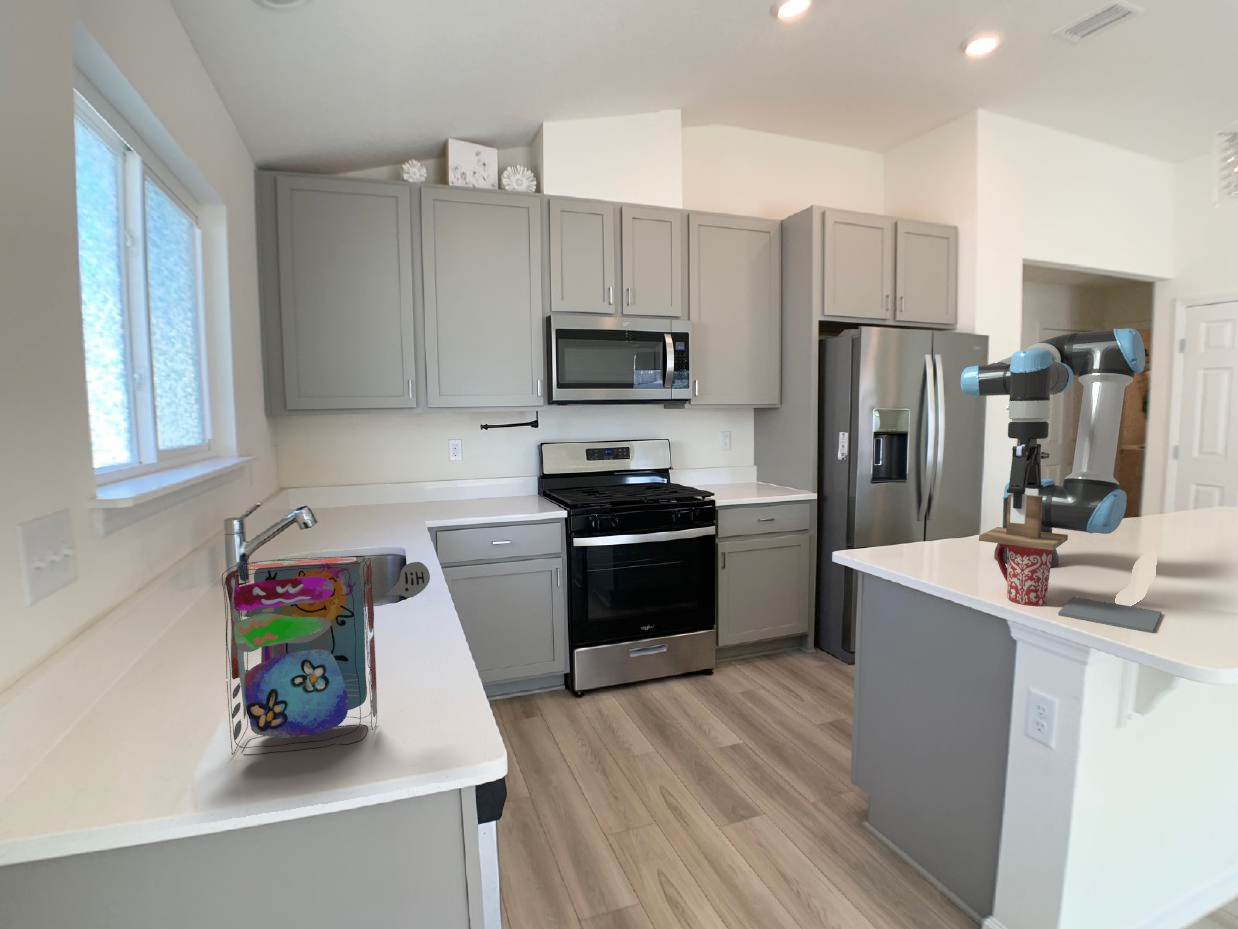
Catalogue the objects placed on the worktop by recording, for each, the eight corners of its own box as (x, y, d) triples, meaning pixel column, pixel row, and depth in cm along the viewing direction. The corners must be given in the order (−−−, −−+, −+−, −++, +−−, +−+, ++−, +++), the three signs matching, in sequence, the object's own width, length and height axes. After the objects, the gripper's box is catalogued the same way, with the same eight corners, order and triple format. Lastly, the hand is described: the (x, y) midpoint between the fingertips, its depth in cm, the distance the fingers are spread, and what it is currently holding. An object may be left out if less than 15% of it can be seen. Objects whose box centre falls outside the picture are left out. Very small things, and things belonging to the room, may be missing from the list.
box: (437, 713, 90) (430, 549, 87) (434, 734, 84) (426, 559, 81) (249, 734, 84) (237, 561, 82) (231, 759, 78) (218, 572, 76)
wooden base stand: (997, 531, 148) (998, 490, 147) (1067, 540, 138) (1069, 495, 137) (978, 540, 138) (980, 496, 137) (1053, 550, 128) (1055, 502, 127)
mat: (1073, 599, 138) (1073, 596, 138) (1161, 614, 127) (1161, 611, 127) (1058, 615, 128) (1058, 612, 128) (1152, 633, 117) (1153, 630, 117)
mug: (1062, 605, 134) (1065, 545, 132) (1026, 608, 132) (1029, 547, 131) (1015, 589, 146) (1017, 534, 145) (982, 592, 144) (984, 535, 143)
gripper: (1022, 419, 146) (1018, 511, 148) (994, 421, 130) (990, 524, 132) (1060, 419, 141) (1055, 515, 142) (1035, 421, 125) (1030, 529, 127)
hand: (1023, 519), depth 137 cm, fingers open, 10 cm apart
